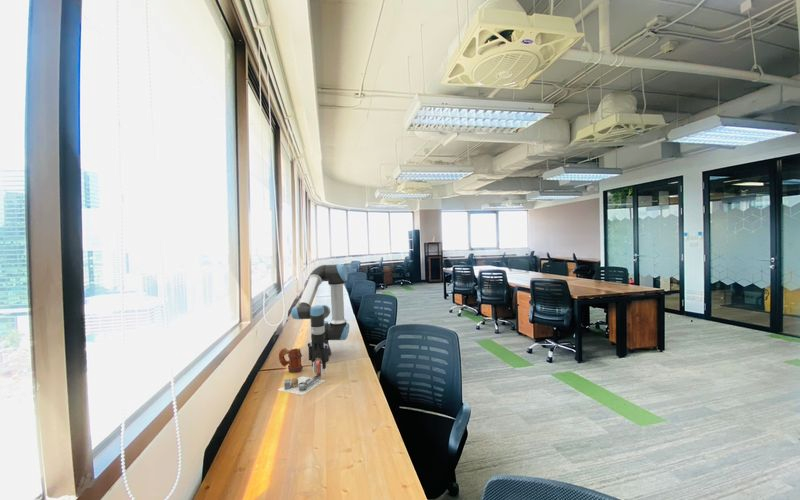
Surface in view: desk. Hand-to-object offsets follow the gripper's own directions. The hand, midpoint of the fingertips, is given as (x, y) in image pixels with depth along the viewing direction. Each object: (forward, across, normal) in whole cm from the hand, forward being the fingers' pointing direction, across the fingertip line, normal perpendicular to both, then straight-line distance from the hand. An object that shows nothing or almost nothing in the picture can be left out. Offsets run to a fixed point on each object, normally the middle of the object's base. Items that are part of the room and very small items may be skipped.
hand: (319, 373), depth 186 cm
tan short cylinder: (+4, -7, -12) cm, 15 cm away
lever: (+3, 0, -7) cm, 8 cm away
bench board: (+5, -4, -10) cm, 12 cm away
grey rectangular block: (+4, -10, -15) cm, 18 cm away
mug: (+5, -25, +5) cm, 26 cm away
